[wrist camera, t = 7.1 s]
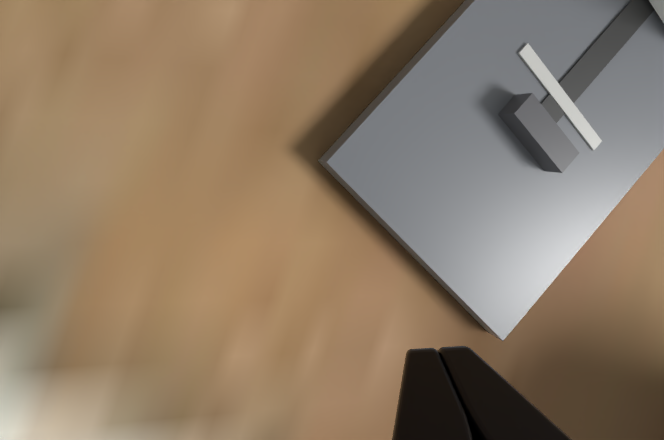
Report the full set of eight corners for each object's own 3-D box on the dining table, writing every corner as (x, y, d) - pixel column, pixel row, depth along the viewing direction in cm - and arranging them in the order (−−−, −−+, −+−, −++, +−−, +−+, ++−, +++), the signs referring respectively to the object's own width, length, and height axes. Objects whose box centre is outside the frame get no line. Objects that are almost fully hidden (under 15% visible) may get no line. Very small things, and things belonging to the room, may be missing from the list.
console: (488, 332, 24) (518, 350, 22) (317, 161, 20) (336, 163, 19) (752, 18, 26) (800, 9, 24) (633, -184, 22) (679, -213, 20)
